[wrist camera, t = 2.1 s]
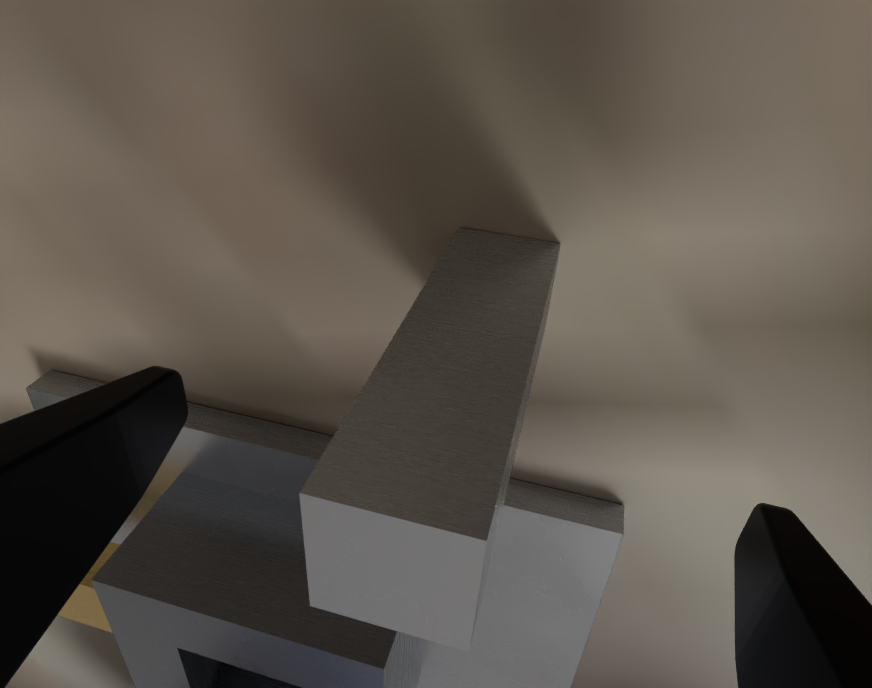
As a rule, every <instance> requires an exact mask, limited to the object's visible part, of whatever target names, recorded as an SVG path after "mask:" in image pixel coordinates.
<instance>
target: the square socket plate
mask: <svg viewBox="0 0 872 688" xmlns="http://www.w3.org/2000/svg"><path fill="white" fill-rule="evenodd" d="M104 384H107V383H104V382H100V381H96V380H92V379H87V378H83V377H79V376H75V375H70V374H66V373H62V372H58V371H53V370H49V371H48V372H47V373H45V374H44V375H43V376H41V377H40V378H39V379H37V380H36V381H35V382H33V383H32V384H31V385H29V386H28V387H27V388H26V390H27V393H28V395H29V398H30V400H31V403H32V405H33V408H34V410H35V411H36V410H38V409H41V408H44V407H46V406H49V405H52V404H54V403H57V402H60V401H62V400H65V399H67V398H70V397H73V396H75V395H78V394H81V393H83V392H86V391H89V390H91V389H94V388H96V387H99V386H102V385H104ZM187 404H188V417H187V420H186V422H185V425H184V426H183V428H182V430H181V431H180V433H179V435H178V437H177V438H176V440H175V442H174V444H173V445H172V447H171V449H170V450H169V452H168V454H167V456H166V457H165V459H164V461H163V463H162V464H161V466H160V468H159V470H158V471H157V473H156V475H155V476H154V478H153V480H152V482H151V483H150V485H149V487H148V488H147V490H146V492H145V493H144V495H143V496H142V498H141V499H140V501H139V502H138V504H137V505H136V507H135V508H134V510H133V511H132V513H131V514H130V515H129V517H128V518H127V519H126V521H125V522H124V524H123V525H122V526H121V528H120V529H119V530H118V532H117V533H116V535H115V536H114V537H113V539H112V540H111V541H110V543H109V544H108V546H107V547H106V548H105V550H104V551H103V553H102V554H101V555H100V557H99V558H98V559H97V561H96V562H95V564H94V565H93V566H92V568H91V569H90V570H89V572H88V573H87V575H86V576H85V577H84V579H83V580H82V582H81V583H80V584H79V586H78V587H77V588H76V590H75V591H74V593H73V594H72V595H71V597H70V598H69V599H68V601H67V602H66V604H65V605H64V606H63V608H62V609H61V611H60V612H59V613H58V616H61V617H64V618H67V619H70V620H73V621H77V622H80V623H83V624H86V625H89V626H92V627H95V628H98V629H102V630H105V631H108V632H111V633H113V635H114V637H115V640H116V642H117V644H118V647H119V649H120V652H121V654H122V656H123V659H124V661H125V664H126V666H127V668H128V671H129V673H130V676H131V678H132V680H133V683H134V685H135V688H571V685H572V682H573V679H574V676H575V673H576V671H577V668H578V665H579V662H580V659H581V656H582V653H583V650H584V647H585V644H586V642H587V639H588V636H589V633H590V630H591V627H592V624H593V621H594V618H595V616H596V613H597V610H598V607H599V604H600V601H601V598H602V595H603V592H604V590H605V587H606V584H607V581H608V578H609V575H610V572H611V569H612V566H613V564H614V561H615V558H616V555H617V552H618V549H619V546H620V543H621V540H622V538H623V535H624V505H621V504H616V503H612V502H608V501H604V500H599V499H595V498H591V497H587V496H583V495H578V494H574V493H570V492H566V491H561V490H557V489H553V488H549V487H544V486H540V485H536V484H532V483H528V482H523V481H519V480H515V479H511V478H510V480H509V484H508V488H507V493H506V497H505V501H504V505H503V510H502V514H501V518H500V523H499V527H498V531H497V535H496V540H495V544H494V548H493V552H492V557H491V561H490V565H489V570H488V574H487V578H486V582H485V587H484V591H483V595H482V599H481V604H480V608H479V612H478V617H477V621H476V625H475V629H474V634H473V638H472V642H471V647H470V651H469V652H467V651H463V650H460V649H457V648H453V647H450V646H446V645H443V644H439V643H436V642H433V641H429V640H426V639H422V638H419V637H415V636H412V635H408V634H405V633H402V632H398V631H395V630H391V629H388V628H384V627H381V626H377V625H374V624H371V623H367V622H364V621H360V620H357V619H353V618H350V617H347V616H343V615H340V614H336V613H333V612H329V611H326V610H322V609H319V608H316V607H312V606H310V600H309V590H308V579H307V569H306V558H305V548H304V537H303V527H302V517H301V506H300V496H299V493H300V491H301V489H302V488H303V486H304V484H305V483H306V481H307V479H308V478H309V476H310V474H311V473H312V471H313V469H314V468H315V466H316V464H317V463H318V461H319V459H320V458H321V456H322V454H323V453H324V451H325V450H326V448H327V446H328V445H329V443H330V441H331V440H332V438H333V436H329V435H324V434H320V433H316V432H312V431H307V430H303V429H299V428H295V427H291V426H286V425H282V424H278V423H274V422H269V421H265V420H261V419H257V418H252V417H248V416H244V415H240V414H235V413H231V412H227V411H223V410H219V409H214V408H210V407H206V406H202V405H197V404H193V403H189V402H187Z"/></svg>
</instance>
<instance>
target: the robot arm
mask: <svg viewBox="0 0 872 688" xmlns="http://www.w3.org/2000/svg"><path fill="white" fill-rule="evenodd" d="M187 417H188V404H187V400H186V395H185V390H184V386H183V381H182V377H181V375H180V374H179V372H178V371H176V370H173V369H169V368H164V367H160V366H152V367H149V368H146V369H144V370H141V371H139V372H136V373H133V374H131V375H128V376H125V377H123V378H120V379H118V380H115V381H112V382H110V383H107V384H104V385H102V386H99V387H96V388H94V389H91V390H89V391H86V392H83V393H81V394H78V395H75V396H73V397H70V398H67V399H65V400H62V401H60V402H57V403H54V404H52V405H49V406H46V407H44V408H41V409H38V410H36V411H33V412H31V413H28V414H25V415H23V416H20V417H17V418H15V419H12V420H9V421H7V422H4V423H2V424H0V688H5V686H6V685H7V684H8V682H9V681H10V680H11V678H12V677H13V675H14V674H15V673H16V671H17V670H18V669H19V667H20V666H21V664H22V663H23V662H24V660H25V659H26V657H27V656H28V655H29V653H30V652H31V651H32V649H33V648H34V646H35V645H36V644H37V642H38V641H39V640H40V638H41V637H42V635H43V634H44V633H45V631H46V630H47V628H48V627H49V626H50V624H51V623H52V622H53V620H54V619H55V617H56V616H57V615H58V613H59V612H60V611H61V609H62V608H63V606H64V605H65V604H66V602H67V601H68V599H69V598H70V597H71V595H72V594H73V593H74V591H75V590H76V588H77V587H78V586H79V584H80V583H81V582H82V580H83V579H84V577H85V576H86V575H87V573H88V572H89V570H90V569H91V568H92V566H93V565H94V564H95V562H96V561H97V559H98V558H99V557H100V555H101V554H102V553H103V551H104V550H105V548H106V547H107V546H108V544H109V543H110V541H111V540H112V539H113V537H114V536H115V535H116V533H117V532H118V530H119V529H120V528H121V526H122V525H123V524H124V522H125V521H126V519H127V518H128V517H129V515H130V514H131V513H132V511H133V510H134V508H135V507H136V505H137V504H138V502H139V501H140V499H141V498H142V496H143V495H144V493H145V492H146V490H147V488H148V487H149V485H150V483H151V482H152V480H153V478H154V476H155V475H156V473H157V471H158V470H159V468H160V466H161V464H162V463H163V461H164V459H165V457H166V456H167V454H168V452H169V450H170V449H171V447H172V445H173V444H174V442H175V440H176V438H177V437H178V435H179V433H180V431H181V430H182V428H183V426H184V425H185V422H186V420H187ZM734 560H735V660H736V671H737V680H738V688H872V605H871V604H870V603H869V602H868V600H867V599H866V598H865V597H864V596H863V594H862V593H861V592H860V591H859V590H858V588H857V587H856V586H855V585H854V584H853V582H852V581H851V580H850V579H849V578H848V577H847V575H846V574H845V573H844V572H843V571H842V569H841V568H840V567H839V566H838V565H837V563H836V562H835V561H834V560H833V559H832V558H831V556H830V555H829V554H828V553H827V552H826V550H825V549H824V548H823V547H822V546H821V544H820V543H819V542H818V541H817V540H816V539H815V537H814V536H813V535H812V534H811V533H810V531H809V530H808V529H807V528H806V527H805V525H804V524H803V523H802V522H801V521H800V520H799V518H798V517H797V516H796V515H795V514H794V513H793V512H792V511H791V510H789V509H787V508H783V507H778V506H774V505H770V504H765V503H760V504H757V505H756V506H755V507H754V509H753V511H752V513H751V515H750V517H749V518H748V520H747V522H746V524H745V526H744V528H743V530H742V532H741V534H740V536H739V538H738V541H737V544H736V548H735V558H734Z"/></svg>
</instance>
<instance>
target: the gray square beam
mask: <svg viewBox="0 0 872 688" xmlns="http://www.w3.org/2000/svg"><path fill="white" fill-rule="evenodd" d="M559 249H560V243H554V242H548V241H542V240H536V239H530V238H523V237H517V236H511V235H505V234H499V233H493V232H487V231H480V230H474V229H468V228H462V227H459V229H458V230H457V232H456V234H455V235H454V237H453V239H452V240H451V242H450V244H449V245H448V247H447V249H446V250H445V252H444V254H443V255H442V257H441V259H440V260H439V262H438V264H437V265H436V267H435V269H434V270H433V272H432V273H431V275H430V277H429V278H428V280H427V282H426V283H425V285H424V287H423V288H422V290H421V292H420V293H419V295H418V297H417V298H416V300H415V302H414V303H413V305H412V307H411V308H410V310H409V312H408V313H407V315H406V317H405V318H404V320H403V322H402V323H401V325H400V327H399V328H398V330H397V332H396V333H395V335H394V337H393V338H392V340H391V342H390V343H389V345H388V347H387V348H386V350H385V352H384V353H383V355H382V357H381V358H380V360H379V362H378V363H377V365H376V366H375V368H374V370H373V371H372V373H371V375H370V376H369V378H368V380H367V381H366V383H365V385H364V386H363V388H362V390H361V391H360V393H359V395H358V396H357V398H356V400H355V401H354V403H353V405H352V406H351V408H350V410H349V411H348V413H347V415H346V416H345V418H344V420H343V421H342V423H341V425H340V426H339V428H338V430H337V431H336V433H335V435H334V436H333V438H332V440H331V441H330V443H329V445H328V446H327V448H326V450H325V451H324V453H323V454H322V456H321V458H320V459H319V461H318V463H317V464H316V466H315V468H314V469H313V471H312V473H311V474H310V476H309V478H308V479H307V481H306V483H305V484H304V486H303V488H302V489H301V491H300V493H299V496H300V506H301V517H302V527H303V537H304V548H305V558H306V569H307V579H308V590H309V600H310V606H312V607H316V608H319V609H322V610H326V611H329V612H333V613H336V614H340V615H343V616H347V617H350V618H353V619H357V620H360V621H364V622H367V623H371V624H374V625H377V626H381V627H384V628H388V629H391V630H395V631H398V632H402V633H405V634H408V635H412V636H415V637H419V638H422V639H426V640H429V641H433V642H436V643H439V644H443V645H446V646H450V647H453V648H457V649H460V650H463V651H467V652H469V651H470V647H471V642H472V638H473V634H474V629H475V625H476V621H477V617H478V612H479V608H480V604H481V599H482V595H483V591H484V587H485V582H486V578H487V574H488V570H489V565H490V561H491V557H492V552H493V548H494V544H495V540H496V535H497V531H498V527H499V523H500V518H501V514H502V510H503V505H504V501H505V497H506V493H507V488H508V484H509V480H510V476H511V471H512V467H513V463H514V458H515V454H516V450H517V446H518V441H519V437H520V433H521V429H522V424H523V420H524V416H525V411H526V407H527V403H528V399H529V394H530V390H531V386H532V382H533V377H534V373H535V369H536V364H537V360H538V356H539V352H540V347H541V343H542V339H543V335H544V330H545V325H546V319H547V314H548V308H549V303H550V298H551V292H552V287H553V281H554V276H555V271H556V265H557V260H558V254H559Z"/></svg>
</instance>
